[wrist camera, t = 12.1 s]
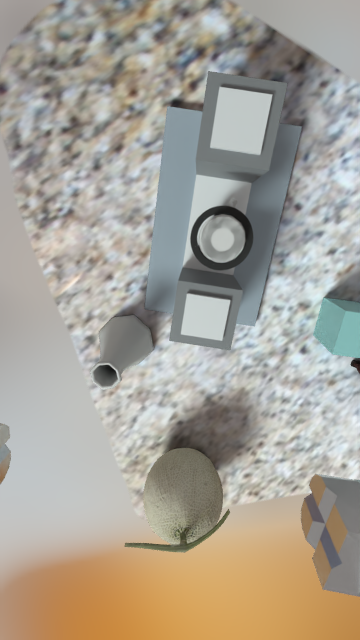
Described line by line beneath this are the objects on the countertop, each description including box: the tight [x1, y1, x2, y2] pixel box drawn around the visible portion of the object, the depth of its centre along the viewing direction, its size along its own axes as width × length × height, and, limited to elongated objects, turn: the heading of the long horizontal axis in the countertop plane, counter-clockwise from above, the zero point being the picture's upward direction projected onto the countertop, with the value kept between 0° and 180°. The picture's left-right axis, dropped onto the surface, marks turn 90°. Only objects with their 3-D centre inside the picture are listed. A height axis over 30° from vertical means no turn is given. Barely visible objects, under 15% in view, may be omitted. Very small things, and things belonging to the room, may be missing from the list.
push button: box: [190, 198, 253, 270], centre depth 30 cm, size 7×5×10 cm
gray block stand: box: [144, 71, 302, 350], centre depth 31 cm, size 14×22×10 cm, turn 172°
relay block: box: [313, 298, 360, 358], centre depth 36 cm, size 5×5×6 cm
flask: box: [90, 315, 154, 389], centre depth 36 cm, size 7×7×10 cm
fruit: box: [125, 448, 230, 552], centre depth 39 cm, size 10×12×15 cm
